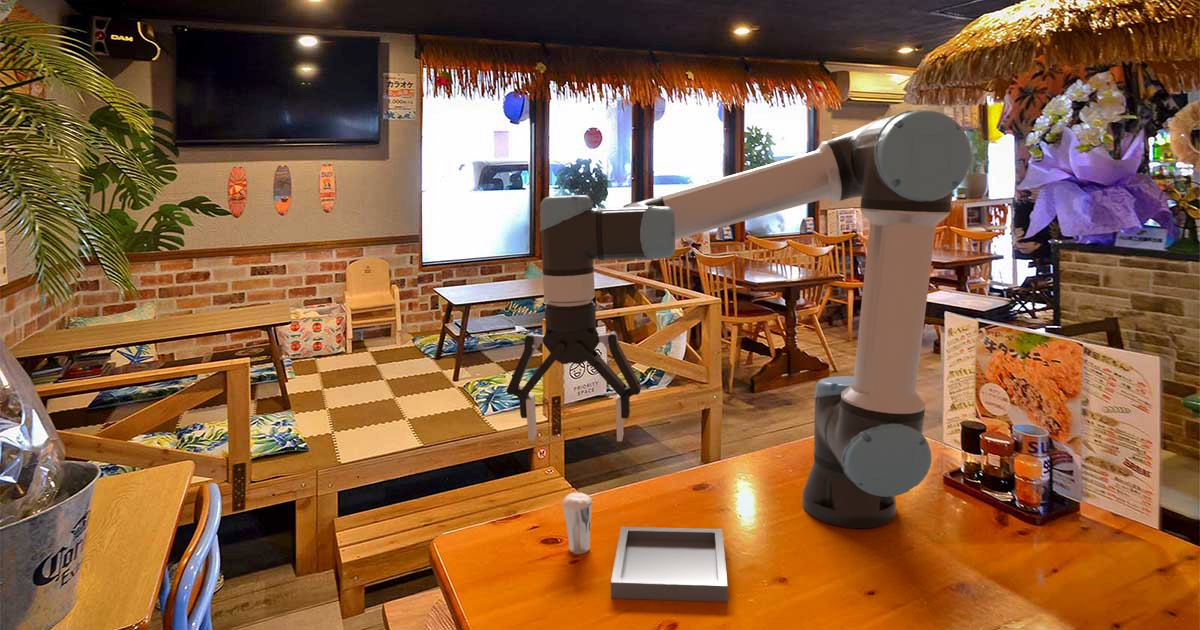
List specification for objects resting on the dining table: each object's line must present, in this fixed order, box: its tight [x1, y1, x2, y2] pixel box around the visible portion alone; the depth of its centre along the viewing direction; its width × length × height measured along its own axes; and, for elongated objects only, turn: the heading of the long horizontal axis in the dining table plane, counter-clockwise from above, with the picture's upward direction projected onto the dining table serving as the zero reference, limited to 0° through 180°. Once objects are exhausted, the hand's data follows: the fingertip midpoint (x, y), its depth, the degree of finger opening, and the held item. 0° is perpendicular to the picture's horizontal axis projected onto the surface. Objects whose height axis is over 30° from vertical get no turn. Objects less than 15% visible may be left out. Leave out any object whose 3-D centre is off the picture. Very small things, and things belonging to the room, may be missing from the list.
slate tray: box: [610, 526, 729, 603], centre depth 106 cm, size 16×16×2 cm
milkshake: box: [562, 491, 597, 555], centre depth 112 cm, size 4×5×10 cm
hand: (576, 438), depth 109 cm, fingers open, 13 cm apart
